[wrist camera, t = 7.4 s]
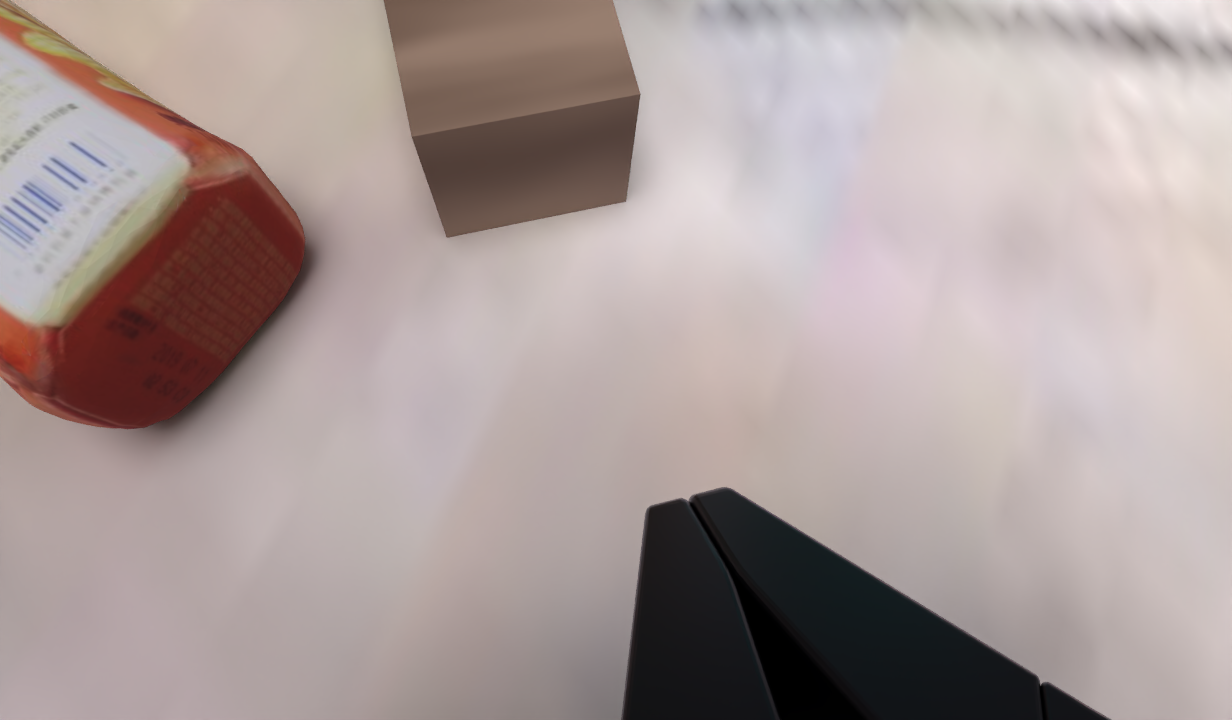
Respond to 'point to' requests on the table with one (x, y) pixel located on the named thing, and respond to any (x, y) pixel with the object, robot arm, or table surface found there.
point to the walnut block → (516, 106)
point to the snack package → (123, 239)
